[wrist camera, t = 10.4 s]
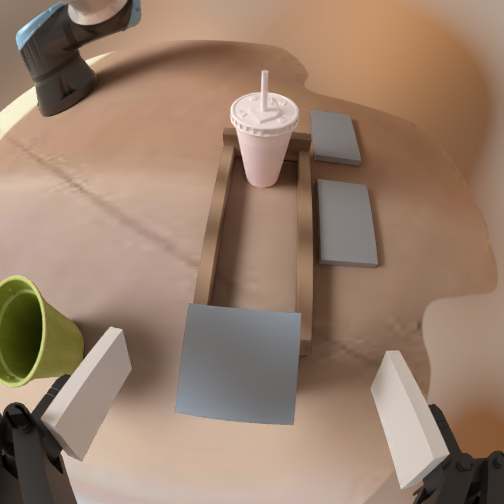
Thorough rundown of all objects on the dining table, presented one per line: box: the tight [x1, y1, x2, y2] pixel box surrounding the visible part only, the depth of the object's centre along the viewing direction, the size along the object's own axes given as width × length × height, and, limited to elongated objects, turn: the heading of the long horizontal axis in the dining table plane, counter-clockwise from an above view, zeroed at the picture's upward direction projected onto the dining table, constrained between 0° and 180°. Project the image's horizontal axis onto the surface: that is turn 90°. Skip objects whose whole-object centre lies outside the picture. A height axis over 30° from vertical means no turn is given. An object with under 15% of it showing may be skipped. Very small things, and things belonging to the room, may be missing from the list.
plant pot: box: [0, 276, 84, 387], centre depth 19 cm, size 9×9×9 cm
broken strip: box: [310, 109, 378, 268], centre depth 32 cm, size 24×6×1 cm, turn 175°
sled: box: [175, 128, 313, 425], centre depth 21 cm, size 27×10×15 cm, turn 175°
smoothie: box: [230, 70, 299, 188], centre depth 25 cm, size 6×6×14 cm
